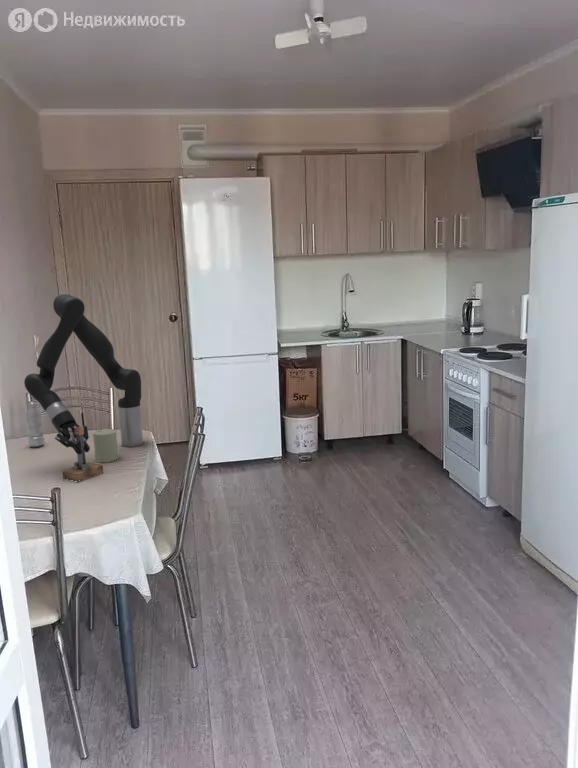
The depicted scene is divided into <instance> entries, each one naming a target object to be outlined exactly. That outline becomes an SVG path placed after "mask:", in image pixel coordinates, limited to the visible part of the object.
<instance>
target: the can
mask: <svg viewBox="0 0 578 768" xmlns="http://www.w3.org/2000/svg"><path fill="white" fill-rule="evenodd" d="M92 437H93V446H94V457H95V459H94V462H96V463H100V462H106V463H111V461H112V462H115V461H117V460H118V459H119V458H120V457H119V451H118V440H117V437H118V436H117V430H116V429H114V428H102V429H98V430H94V431H93V432H92ZM116 459H117V460H116ZM114 460H115V461H114Z"/></svg>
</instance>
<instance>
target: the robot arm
mask: <svg viewBox="0 0 578 768" xmlns="http://www.w3.org/2000/svg"><path fill="white" fill-rule="evenodd" d="M52 304H53V305H52V307H53V310H54V313H55V314H56V315H57V316H58V317H59V318H60V319H59V323H58V325H57V327H56V329H55V330H54V332H53V333H52V334H51V336H50V337H49V338H48V339H47V340H46V341H45V343H44V345H43V347H42V348H41V351H40V354H38V358H37V360H36V366H37V367H38V368H39V374H38V373H30V374H28V375H26V377H25V378H24V383H23V384H24V387H25V389H26V391H27V392H28V394H29V395H31V396H32V398H34V400H35V401H37V403H38V404H40V405H41V407H42V409H43V410H44V412H45V413H46V415H47V417H48V419H49V421H50V422H51V424H52V425H53V427H54V428H55V430H56V431H57V432H58V433H57V434H56V435H55V437H54V440H56V441H57V442H59V443H60V444H61V445H63V446H64V447H66V448H71V449H73V451H74V452H75V453H76V454H78V455H80V454H81V453H82V450H81V448H80V447H79V445H78V444H76V435H75V430H74V428H77V427H82V428H83V430H84V434H83V438H84V447H85V453H89V451H90V448H91V447H90V446H89V444H88V443H87V442H88V440H89V438H90V437H89V431H88V426H87V425H84V426H80V425H79V424H78V423H77V422H76V418H75V417H74V416H73V414H72V413H71V411H70V410H69V408H68V407H67V406H66V404H65V403H64V402H63V401H62V399H61V398H60V396H59V395H58V394H57V393H56V392H55V391H53V390H51V389H52V386H53V385H54V379H55V373H56V372H55V371H56V367H57V364H58V362H59V360H60V357H61V354H62V352H63V350H64V348H65V346H66V344H67V343H68V341H69V339H70V337H71V335H72V334H73V333H74V334H75V336H76V337H77V339H78V340H79V341H80V343H81V344H82V345H83V346H84V348H85V349H86V351H87V352H88V353H89V354H90V356H92V357H93V359H94V360H95V361H96V363H98V365H99V366H100V367H101V368H102V369H103V372H104V373H105V374H106V375H107V377H108V379H109V380H110V382H111V384H112V386H113V387H114V388H116V389H118V390H120V391H124V396H123V397H121V398H120V399H118V401H117V404H118V405H117V407H118V416H119V419H118V420H119V429H120V441H121V442H120V443H121V446H122V447H128V448H131V447H138V446H141V445H143V443H144V438H143V436H144V435H143V424H142V413H141V412H142V410H141V401H142V400H141V399H142V379H141V374H140V373H139V371H138V370H136V369H131V368H124V367H122V366H121V365H120V363H119V362H118V361H117V360H116V357H115V351H114V346H113V344H112V343H111V341H110V340H109V339H108V337H107V336H106V335H105V333H104V332H102V330H101V329H99V327H97V326H96V325H95V324H94V323H92V322H91V321H90V320H89V319H88V318H87V317H86V316H85V314H84V313H85V308H86V307H85V303H84V302H83V301H82V300H81V299H80V298H78V297H75V296H72V295H71V294H65V293H63V294H59V295H57V296H56V297H55V298H54V300H53V303H52Z"/></svg>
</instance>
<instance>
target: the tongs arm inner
mask: <svg viewBox="0 0 578 768" xmlns="http://www.w3.org/2000/svg"><path fill="white" fill-rule="evenodd" d="M82 427H83V426H80V427H77V428H81V433H82V448H83V461H84V464H85V463H87V458H86V456H87V455H86V452H85V447H84V438H83V434H84V430H83V428H82Z"/></svg>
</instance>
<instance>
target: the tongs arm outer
mask: <svg viewBox="0 0 578 768" xmlns="http://www.w3.org/2000/svg"><path fill="white" fill-rule="evenodd" d="M74 430H75V435H76V440H75V441H76V444H78V445H79V447H80V448H81V450H82V453H81V454H80V455H78V454H77V453H76V454H77V456H76V457H77V462H78V467H80V468H82V465H83V464H84V461H83V448H82V433H81V428H74Z"/></svg>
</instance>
